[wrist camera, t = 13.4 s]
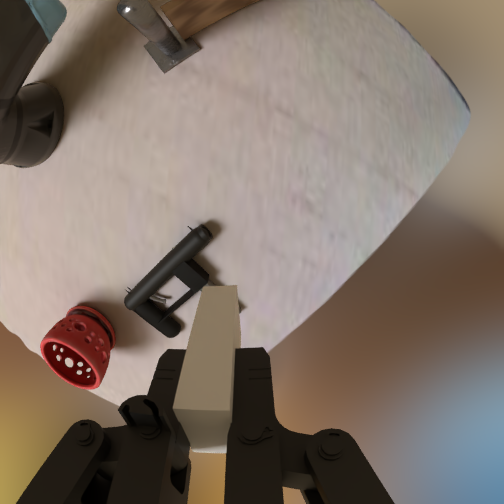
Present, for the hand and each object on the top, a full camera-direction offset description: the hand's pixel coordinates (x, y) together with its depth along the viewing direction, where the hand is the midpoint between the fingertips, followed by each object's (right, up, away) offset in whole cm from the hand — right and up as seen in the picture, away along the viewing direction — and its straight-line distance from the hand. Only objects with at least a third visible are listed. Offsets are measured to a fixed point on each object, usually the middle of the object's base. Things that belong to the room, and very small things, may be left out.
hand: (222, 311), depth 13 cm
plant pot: (-31, -12, +36) cm, 49 cm away
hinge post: (-10, +32, +17) cm, 37 cm away
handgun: (-9, -3, +33) cm, 34 cm away
